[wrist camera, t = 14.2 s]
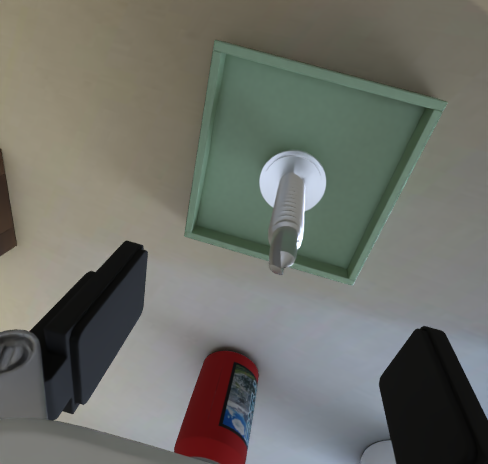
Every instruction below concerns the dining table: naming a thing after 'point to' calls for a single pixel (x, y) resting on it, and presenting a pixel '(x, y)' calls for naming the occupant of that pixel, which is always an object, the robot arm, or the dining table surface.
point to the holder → (5, 215)
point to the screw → (289, 201)
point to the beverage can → (220, 410)
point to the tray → (308, 140)
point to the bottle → (379, 453)
